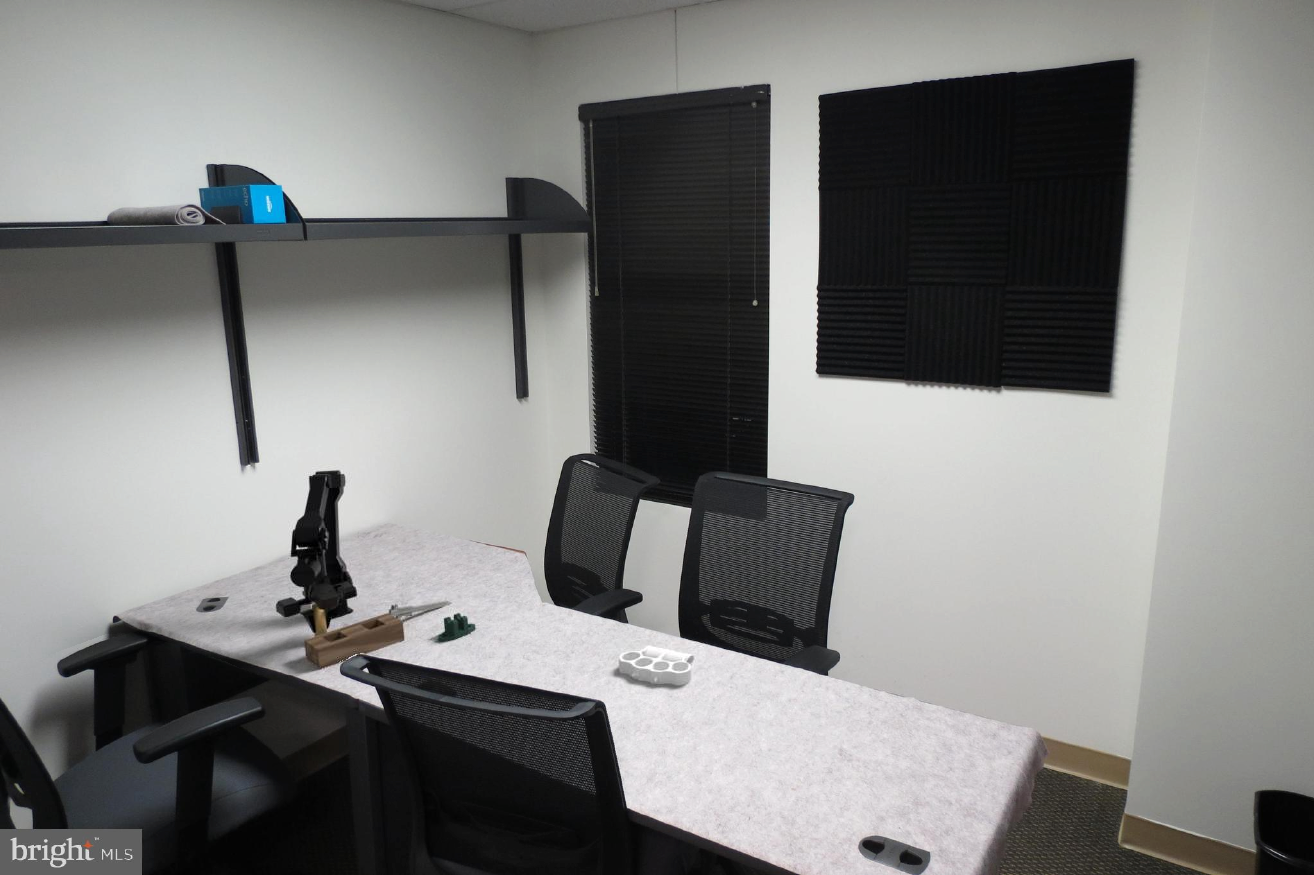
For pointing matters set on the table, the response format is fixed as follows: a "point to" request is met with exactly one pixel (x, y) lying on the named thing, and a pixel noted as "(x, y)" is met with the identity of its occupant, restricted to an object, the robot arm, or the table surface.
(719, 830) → the table surface
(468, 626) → the mount
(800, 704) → the table surface
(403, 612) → the caliper
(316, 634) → the peg
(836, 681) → the table surface
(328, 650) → the hole block
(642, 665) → the white brass knuckles
